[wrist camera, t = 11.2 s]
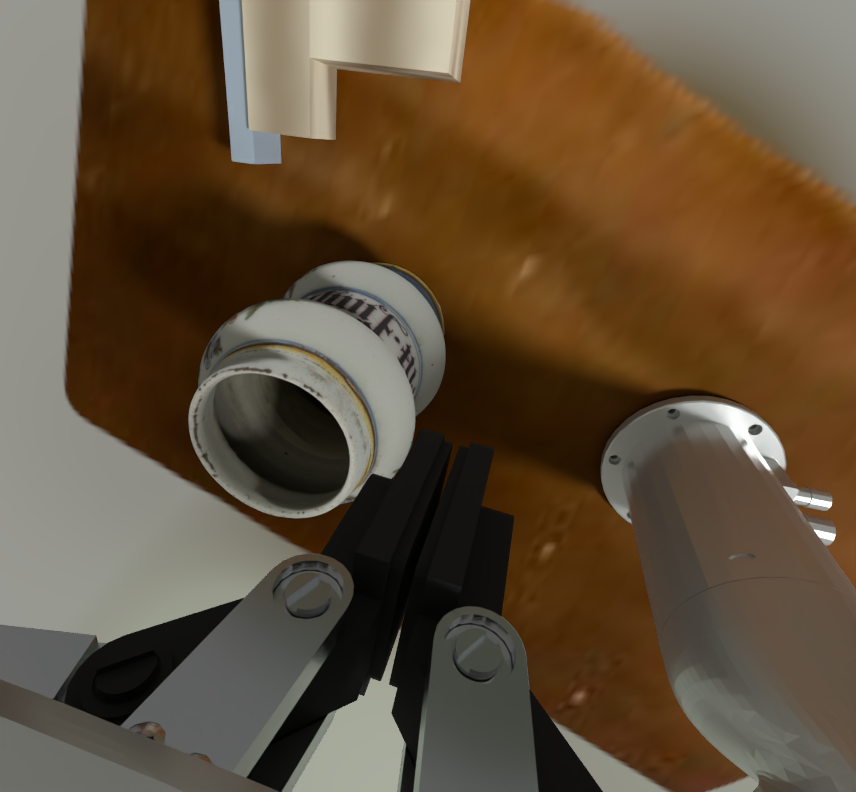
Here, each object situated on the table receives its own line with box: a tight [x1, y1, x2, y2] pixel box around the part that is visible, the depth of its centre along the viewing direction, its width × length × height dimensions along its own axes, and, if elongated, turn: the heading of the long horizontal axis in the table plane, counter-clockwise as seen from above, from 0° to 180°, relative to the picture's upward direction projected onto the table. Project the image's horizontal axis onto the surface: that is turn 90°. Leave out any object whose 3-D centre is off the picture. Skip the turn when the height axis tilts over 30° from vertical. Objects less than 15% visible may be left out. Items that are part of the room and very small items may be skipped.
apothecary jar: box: [188, 261, 446, 518], centre depth 30 cm, size 12×12×18 cm
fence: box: [219, 0, 281, 164], centre depth 27 cm, size 15×17×4 cm
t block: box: [242, 0, 470, 140], centre depth 27 cm, size 12×12×4 cm
